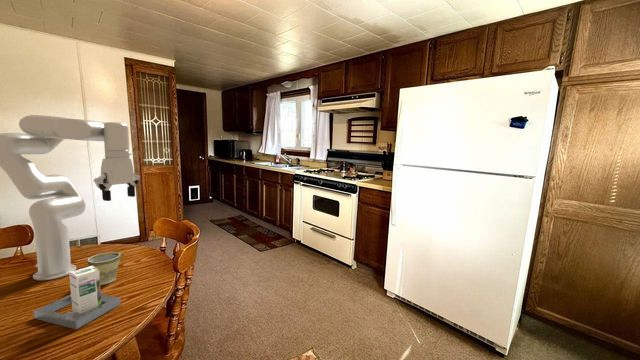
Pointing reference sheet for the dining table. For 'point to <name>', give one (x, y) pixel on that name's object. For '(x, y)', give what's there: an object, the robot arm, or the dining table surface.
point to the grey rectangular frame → (71, 318)
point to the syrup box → (85, 290)
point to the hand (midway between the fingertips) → (119, 198)
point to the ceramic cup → (106, 265)
